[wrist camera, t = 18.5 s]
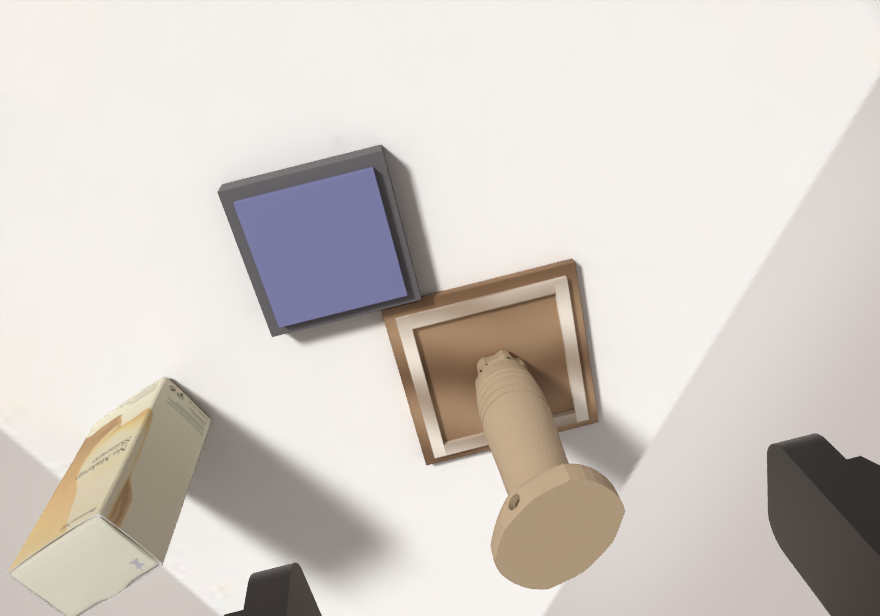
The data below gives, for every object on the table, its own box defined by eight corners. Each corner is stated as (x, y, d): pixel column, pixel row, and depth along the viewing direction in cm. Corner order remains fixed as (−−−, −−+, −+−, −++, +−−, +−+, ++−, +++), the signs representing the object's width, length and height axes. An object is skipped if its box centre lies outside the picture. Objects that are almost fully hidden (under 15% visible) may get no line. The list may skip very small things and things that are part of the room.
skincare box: (166, 372, 43) (102, 508, 32) (214, 419, 45) (170, 563, 34) (87, 426, 44) (-1, 576, 33) (138, 470, 46) (70, 626, 35)
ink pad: (222, 184, 39) (215, 194, 37) (381, 144, 39) (382, 152, 37) (274, 325, 43) (271, 341, 41) (419, 289, 43) (421, 303, 41)
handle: (558, 350, 45) (645, 509, 31) (496, 422, 47) (554, 602, 33) (499, 313, 43) (564, 463, 30) (438, 388, 45) (473, 563, 31)
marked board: (381, 306, 43) (381, 313, 42) (572, 258, 43) (576, 264, 42) (425, 459, 48) (427, 469, 47) (595, 417, 48) (600, 425, 47)
